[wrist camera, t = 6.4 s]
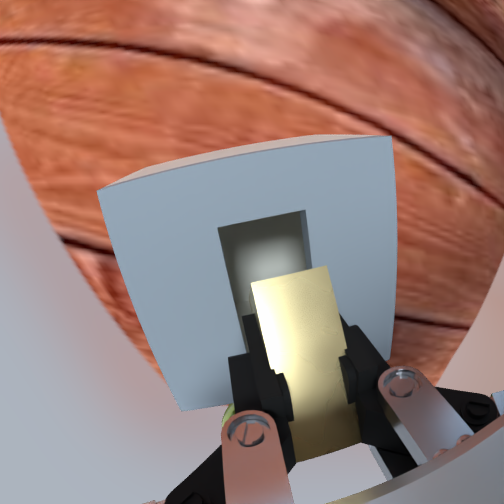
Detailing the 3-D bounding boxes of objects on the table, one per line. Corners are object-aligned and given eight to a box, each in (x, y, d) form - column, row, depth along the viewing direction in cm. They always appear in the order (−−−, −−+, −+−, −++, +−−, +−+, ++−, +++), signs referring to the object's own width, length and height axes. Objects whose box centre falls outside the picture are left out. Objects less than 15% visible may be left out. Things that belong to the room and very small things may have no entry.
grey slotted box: (145, 167, 20) (96, 190, 11) (314, 134, 21) (391, 135, 11) (186, 316, 24) (181, 411, 15) (331, 284, 25) (389, 359, 16)
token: (248, 298, 13) (250, 283, 8) (296, 287, 13) (326, 265, 8) (275, 413, 12) (293, 463, 7) (322, 401, 12) (364, 440, 7)
